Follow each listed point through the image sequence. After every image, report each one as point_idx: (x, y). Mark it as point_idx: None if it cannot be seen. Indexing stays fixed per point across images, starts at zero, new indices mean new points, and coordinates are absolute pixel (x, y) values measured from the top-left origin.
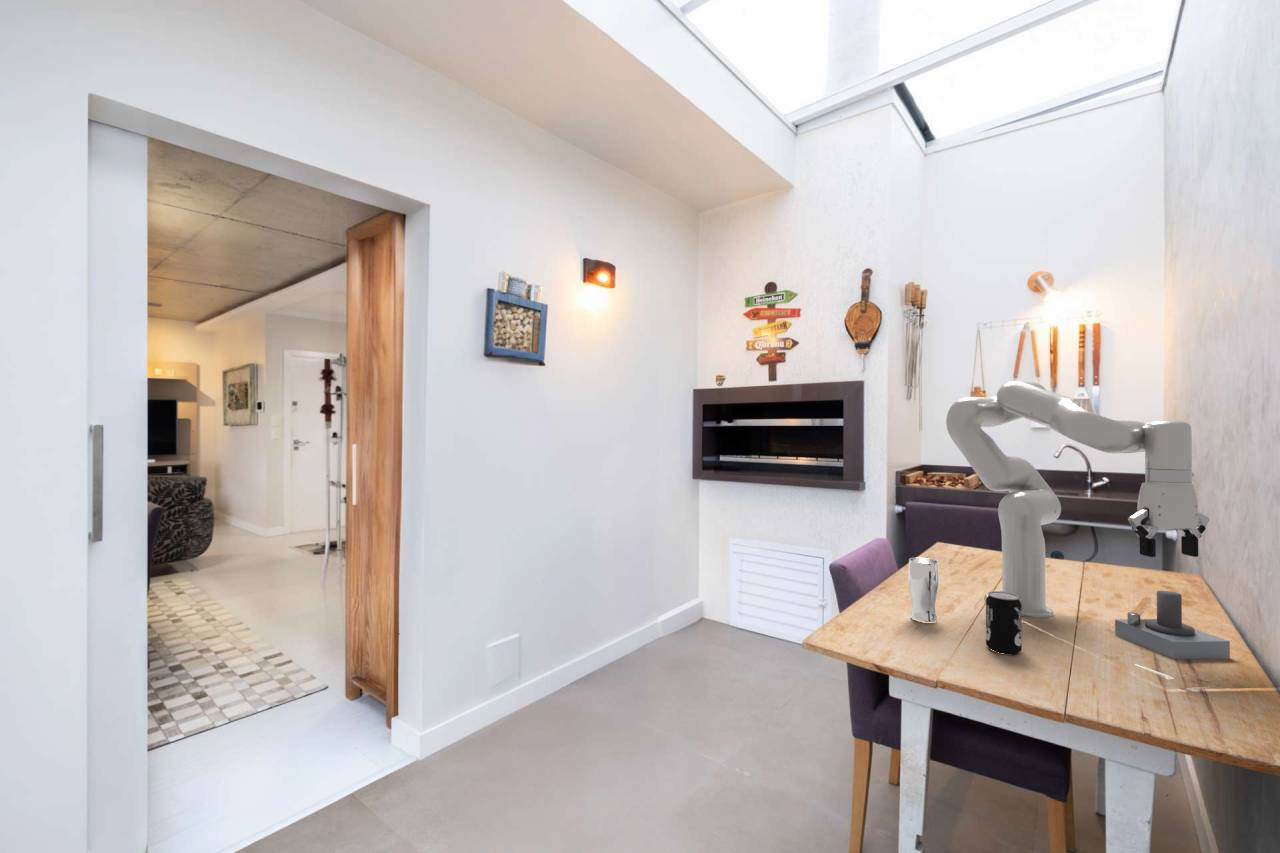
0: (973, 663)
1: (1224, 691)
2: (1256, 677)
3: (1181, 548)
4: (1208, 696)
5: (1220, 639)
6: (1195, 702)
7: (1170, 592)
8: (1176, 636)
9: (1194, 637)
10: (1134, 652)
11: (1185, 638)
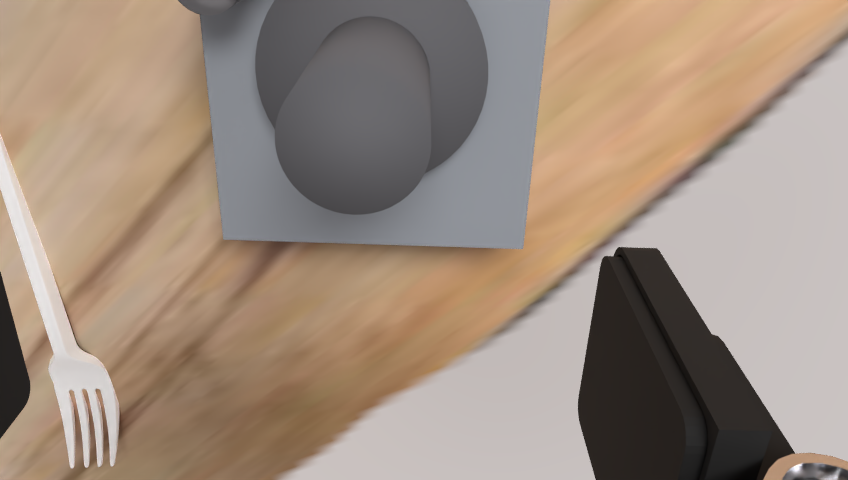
0: None
1: (197, 426)
2: (432, 348)
3: (619, 293)
4: None
5: (503, 225)
6: (34, 476)
7: (388, 123)
8: None
9: None
10: (147, 87)
11: None
